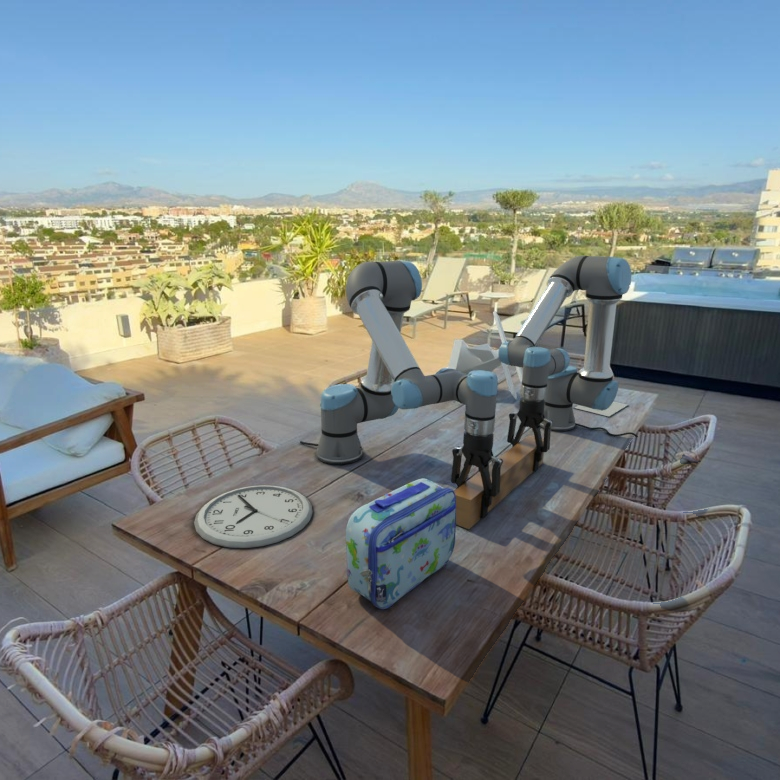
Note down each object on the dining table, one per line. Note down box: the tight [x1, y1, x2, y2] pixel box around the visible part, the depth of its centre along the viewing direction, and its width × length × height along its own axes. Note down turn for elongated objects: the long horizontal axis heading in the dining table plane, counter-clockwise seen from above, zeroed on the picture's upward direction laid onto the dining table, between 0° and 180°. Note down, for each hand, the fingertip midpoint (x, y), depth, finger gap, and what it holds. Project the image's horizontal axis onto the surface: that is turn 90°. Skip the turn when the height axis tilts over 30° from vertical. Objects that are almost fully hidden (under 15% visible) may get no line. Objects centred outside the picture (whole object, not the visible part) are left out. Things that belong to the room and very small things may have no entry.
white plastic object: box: [445, 310, 523, 400], centre depth 245 cm, size 37×45×31 cm
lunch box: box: [345, 477, 457, 610], centre depth 110 cm, size 26×11×21 cm, turn 134°
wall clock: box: [193, 484, 313, 549], centre depth 137 cm, size 30×2×30 cm
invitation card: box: [573, 400, 629, 418], centre depth 226 cm, size 21×1×15 cm
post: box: [453, 434, 545, 530], centre depth 152 cm, size 50×6×8 cm, turn 143°
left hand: (472, 512), depth 140 cm, fingers closed on post, 6 cm apart
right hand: (525, 467), depth 167 cm, fingers closed on post, 6 cm apart
